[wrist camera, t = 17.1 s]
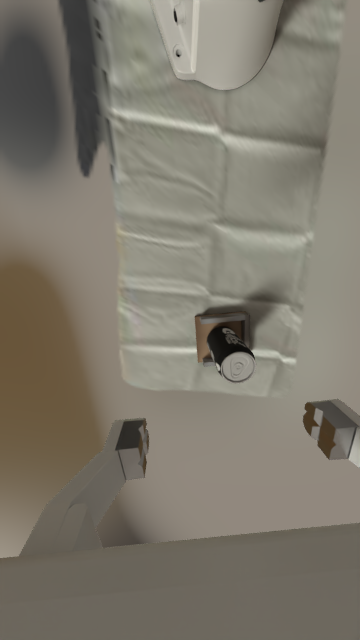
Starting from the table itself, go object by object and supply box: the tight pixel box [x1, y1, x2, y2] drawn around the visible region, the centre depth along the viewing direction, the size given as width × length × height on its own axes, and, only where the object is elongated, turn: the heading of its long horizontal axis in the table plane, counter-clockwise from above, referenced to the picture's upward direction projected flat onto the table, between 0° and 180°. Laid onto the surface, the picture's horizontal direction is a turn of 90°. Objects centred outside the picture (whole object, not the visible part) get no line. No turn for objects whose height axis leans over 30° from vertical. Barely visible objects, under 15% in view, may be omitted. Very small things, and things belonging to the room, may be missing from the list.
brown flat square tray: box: [195, 311, 250, 367], centre depth 40 cm, size 11×11×3 cm
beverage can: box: [207, 326, 256, 383], centre depth 35 cm, size 7×7×12 cm
